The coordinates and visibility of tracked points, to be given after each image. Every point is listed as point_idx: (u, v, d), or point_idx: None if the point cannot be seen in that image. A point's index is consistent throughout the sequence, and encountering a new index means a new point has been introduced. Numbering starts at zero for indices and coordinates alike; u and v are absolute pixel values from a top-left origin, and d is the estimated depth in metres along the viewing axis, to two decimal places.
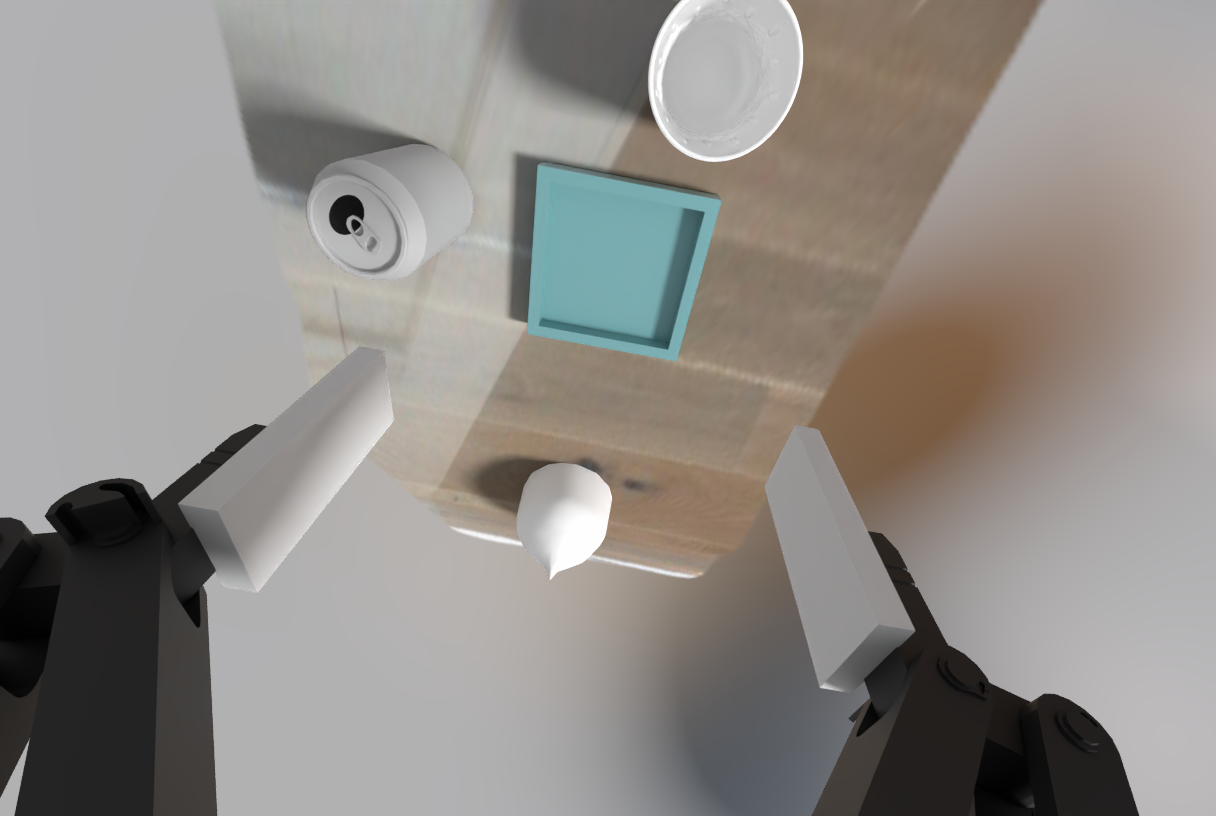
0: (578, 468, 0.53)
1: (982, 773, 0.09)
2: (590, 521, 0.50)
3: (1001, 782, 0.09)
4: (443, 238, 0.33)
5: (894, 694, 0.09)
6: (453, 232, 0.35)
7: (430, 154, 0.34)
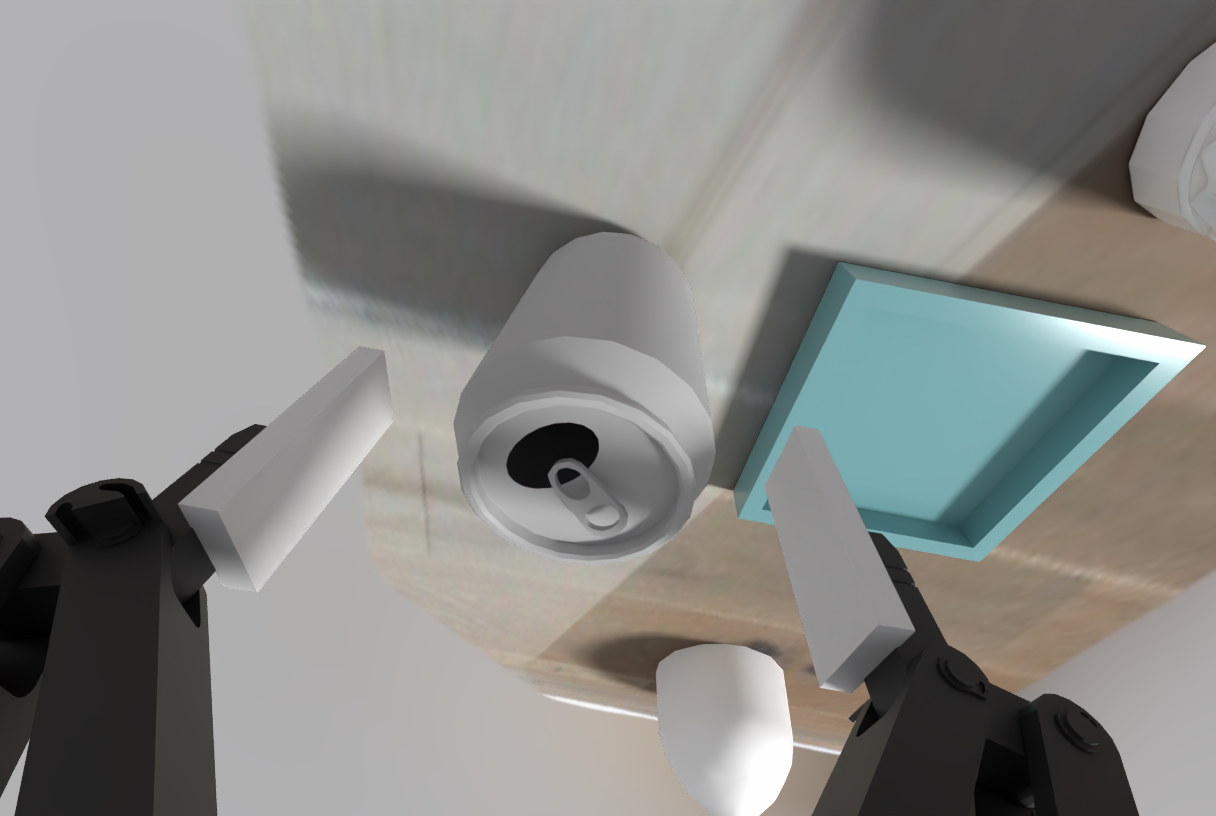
0: (748, 654, 0.37)
1: (983, 773, 0.09)
2: (781, 750, 0.34)
3: (1001, 782, 0.09)
4: None
5: (894, 694, 0.09)
6: None
7: (655, 261, 0.17)
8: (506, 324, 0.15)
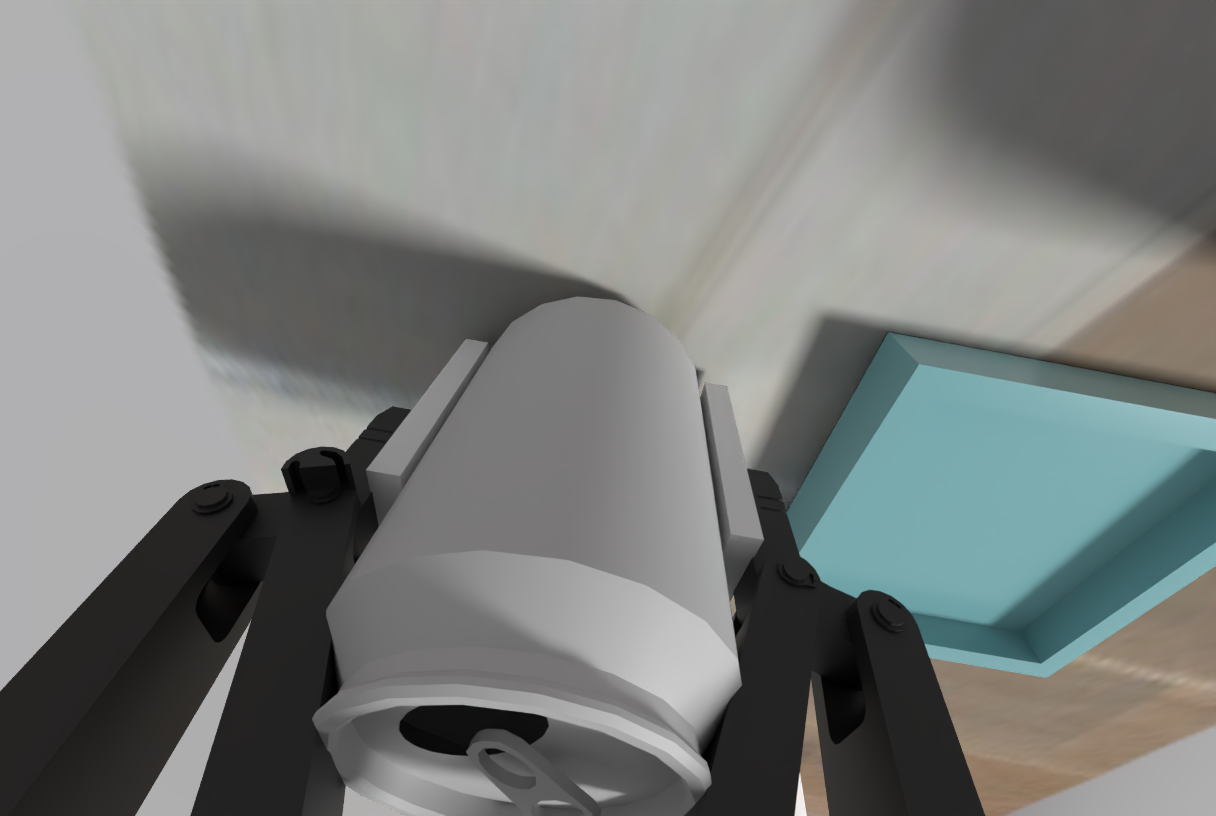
0: None
1: (817, 660, 0.10)
2: None
3: (830, 667, 0.10)
4: None
5: (750, 604, 0.10)
6: None
7: (646, 345, 0.12)
8: (425, 456, 0.10)
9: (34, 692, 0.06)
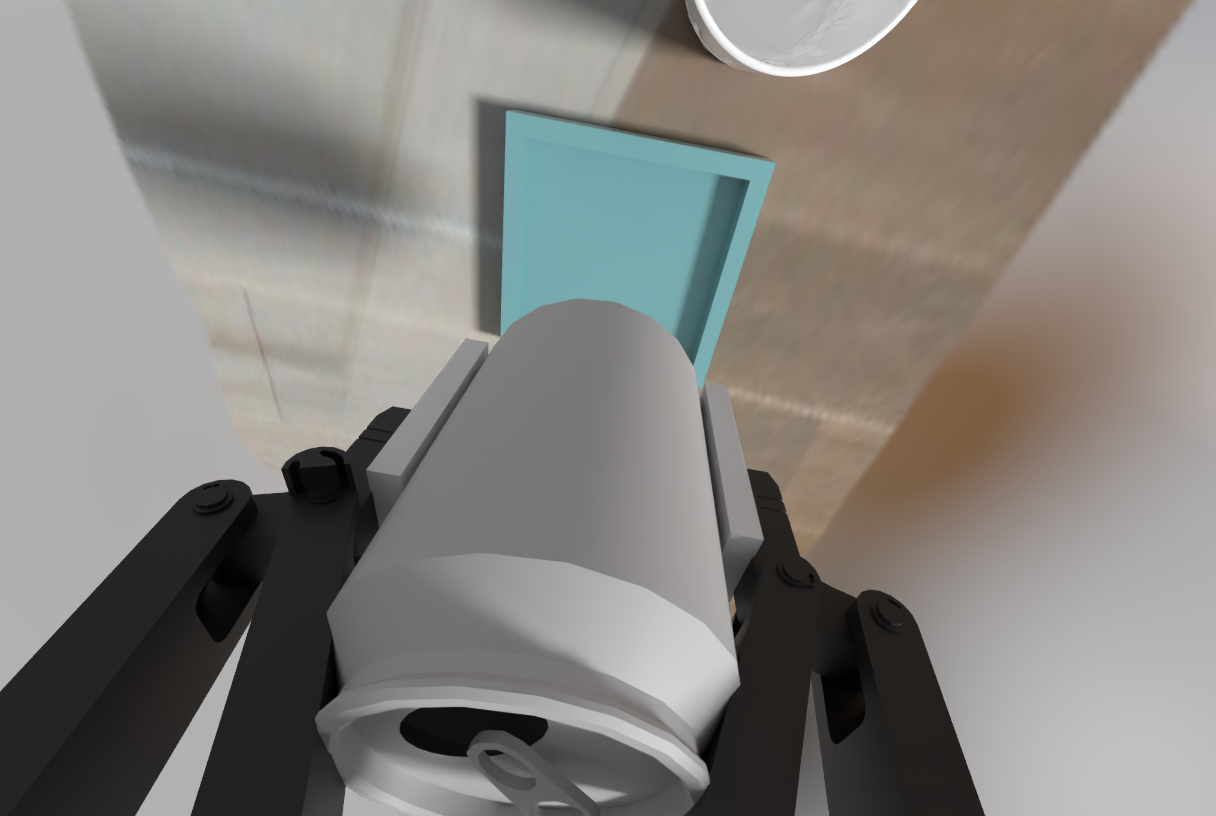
0: None
1: (816, 660, 0.10)
2: None
3: (830, 667, 0.10)
4: None
5: (750, 604, 0.10)
6: None
7: (645, 347, 0.12)
8: (425, 458, 0.10)
9: (34, 692, 0.06)
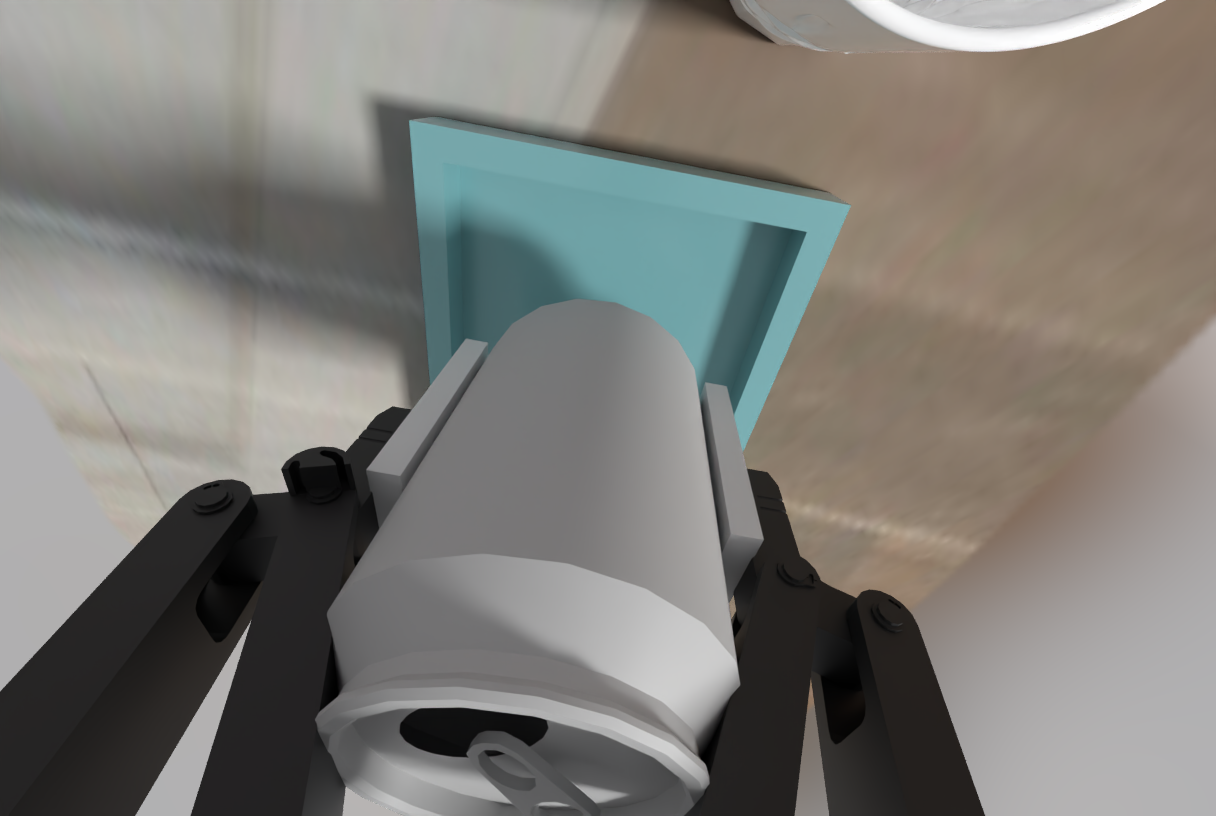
0: None
1: (816, 660, 0.10)
2: None
3: (830, 667, 0.10)
4: None
5: (750, 604, 0.10)
6: None
7: (645, 347, 0.12)
8: (426, 458, 0.10)
9: (34, 692, 0.06)
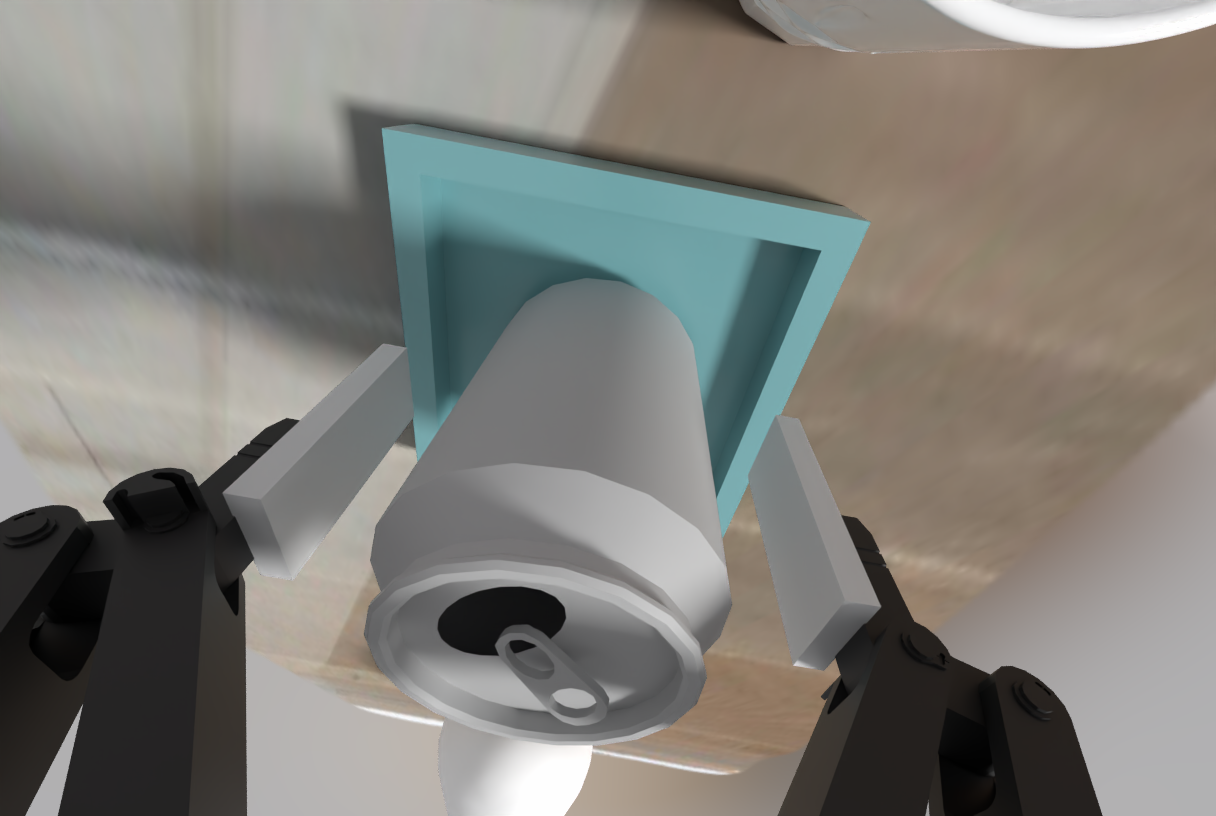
0: None
1: (944, 743, 0.09)
2: (560, 770, 0.29)
3: (961, 751, 0.09)
4: None
5: (861, 670, 0.09)
6: None
7: (648, 319, 0.14)
8: (453, 409, 0.11)
9: None
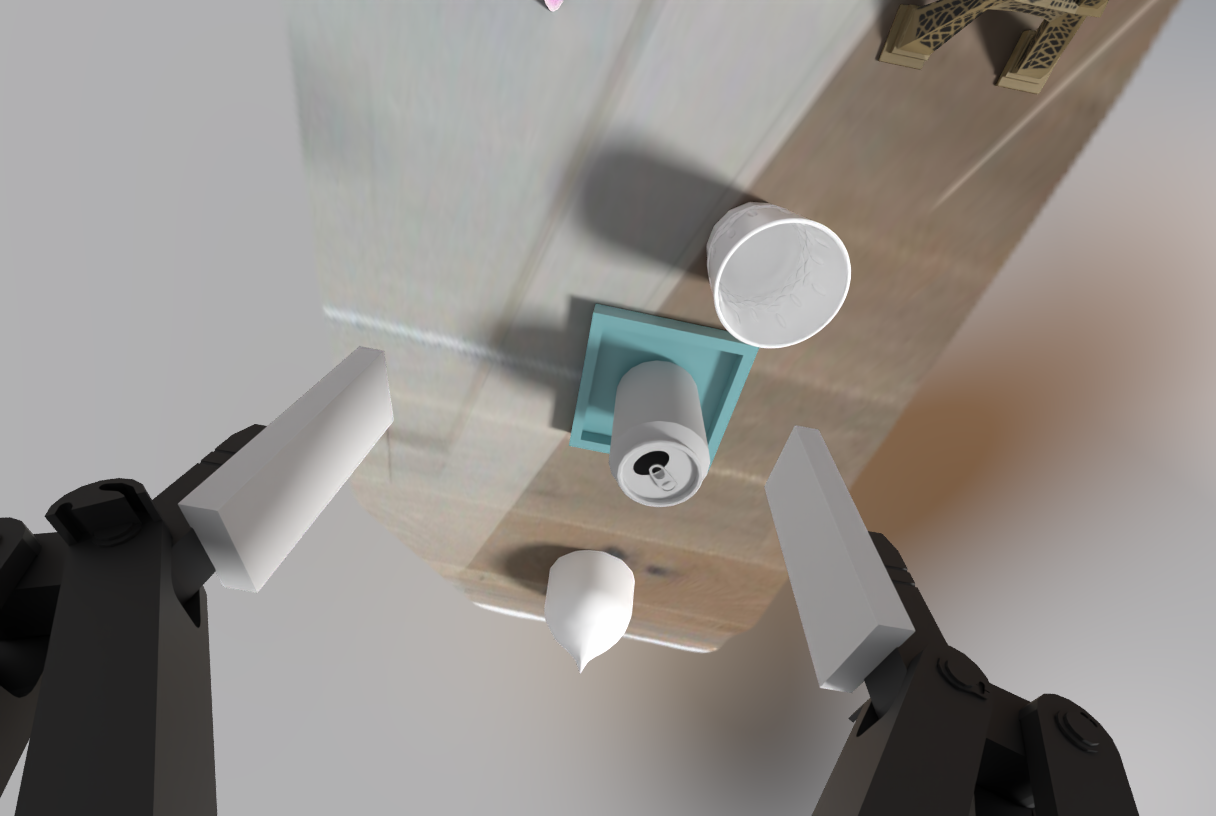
0: (605, 556, 0.56)
1: (982, 773, 0.09)
2: (617, 611, 0.52)
3: (1000, 781, 0.09)
4: None
5: (894, 694, 0.09)
6: None
7: (682, 378, 0.38)
8: (624, 409, 0.36)
9: None
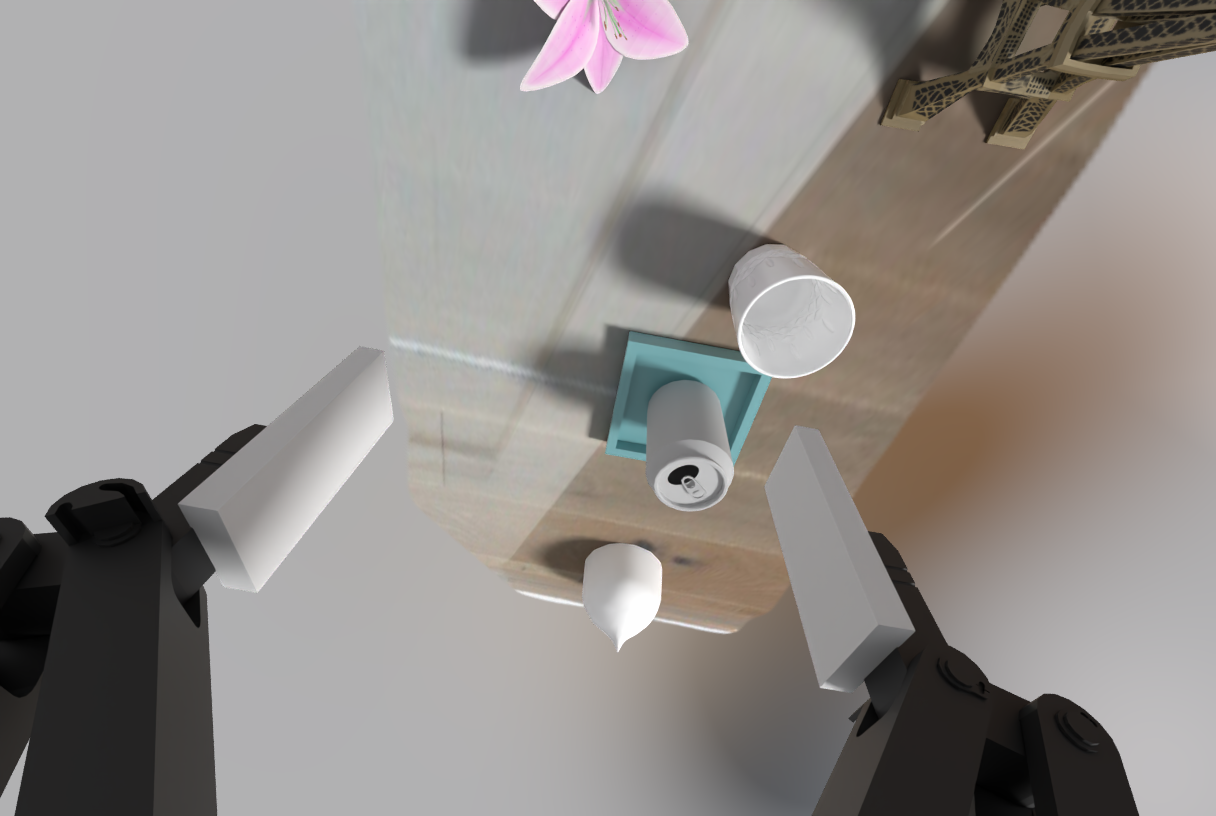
0: (635, 548, 0.62)
1: (982, 773, 0.09)
2: (649, 598, 0.58)
3: (1001, 782, 0.09)
4: None
5: (894, 694, 0.09)
6: None
7: (707, 396, 0.43)
8: (657, 426, 0.41)
9: None
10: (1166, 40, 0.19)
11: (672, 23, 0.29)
